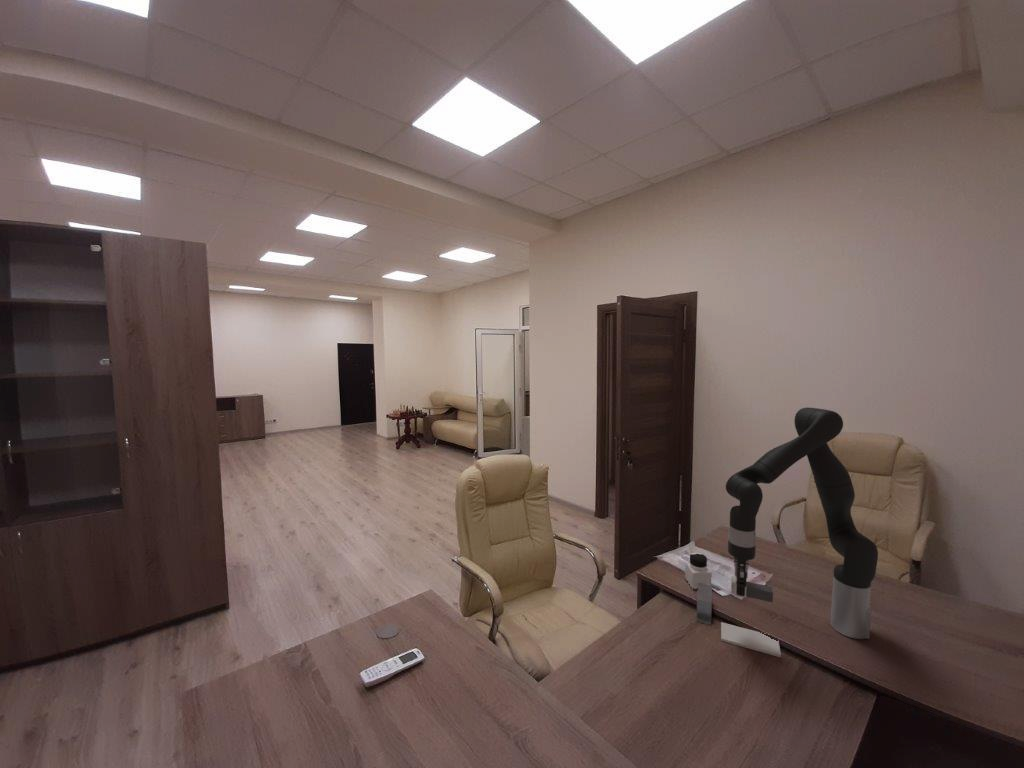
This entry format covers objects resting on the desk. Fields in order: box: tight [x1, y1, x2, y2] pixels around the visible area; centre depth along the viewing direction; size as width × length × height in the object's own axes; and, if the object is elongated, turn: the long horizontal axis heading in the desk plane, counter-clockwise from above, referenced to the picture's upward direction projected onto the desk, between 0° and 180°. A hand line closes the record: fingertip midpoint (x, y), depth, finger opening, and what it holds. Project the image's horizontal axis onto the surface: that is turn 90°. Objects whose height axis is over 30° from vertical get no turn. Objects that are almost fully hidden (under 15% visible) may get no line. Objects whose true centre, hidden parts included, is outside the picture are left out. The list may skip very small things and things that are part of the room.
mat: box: [720, 621, 782, 658], centre depth 127 cm, size 16×8×1 cm, turn 63°
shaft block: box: [695, 583, 713, 626], centre depth 141 cm, size 4×15×7 cm, turn 153°
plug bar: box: [730, 575, 774, 603], centre depth 125 cm, size 11×4×4 cm, turn 63°
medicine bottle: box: [684, 552, 712, 590], centre depth 156 cm, size 7×7×12 cm
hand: (740, 590), depth 127 cm, fingers closed on plug bar, 4 cm apart
